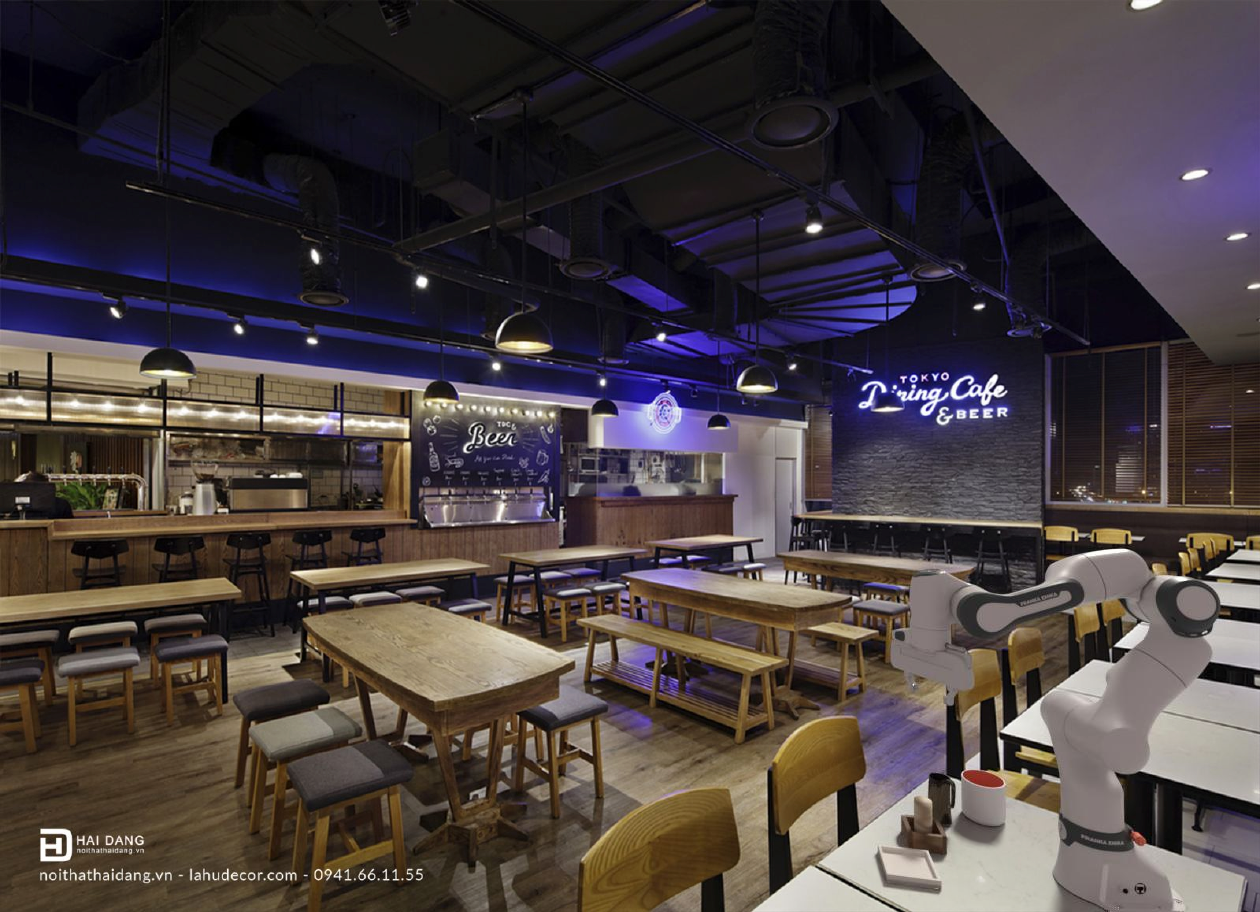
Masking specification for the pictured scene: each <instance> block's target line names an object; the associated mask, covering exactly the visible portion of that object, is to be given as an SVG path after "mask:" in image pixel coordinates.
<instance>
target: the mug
mask: <svg viewBox="0 0 1260 912" xmlns="http://www.w3.org/2000/svg"><path fill="white" fill-rule="evenodd" d="M927 786H928V787H927V789H928V790H927V798H929V799H930V800H931V801H932V817H933V818H934V819H938V820H939V822H940V824H941V826H942V828H949V827H951V826H952V825H953V819H952V816H953V815H952V810H954V808H955V805H956V794H957V792H956V791H957V786H956V784H955V781H953V779H952V778H951V777H950V776H949V775H947V774H944V773H941V772H930V773H929V774H928V785H927Z"/></svg>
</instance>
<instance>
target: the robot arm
mask: <svg viewBox="0 0 1260 912" xmlns="http://www.w3.org/2000/svg"><path fill="white" fill-rule="evenodd" d="M1044 575H1045V576H1044V582H1042V583H1040V584H1038V585H1035V586H1032V587H1028V588H1025V589H1020V590H1017V591H1014V592H1010V593H1004V594H1001V593H1000V594H999V593H994V592H989V591H988V590H985V589H984V588H982V587H980V586H978V585H975V584H972V583H969V582H967V581H964V580H962V579H959V578H958V577H956V576H954V575H952V574H950V573H949V572H948V571H947V570H945V569H942V568H927V569H921V570H918V571H916V572H915V573H914V574H913V575H912V577H911V580H910V588H909V609H910V612H911V614H910V615H911V616H910V620H909V626H908V627H904V628H898V629H893V630H892V631H891V638H892V641H891V642H890V653H889V654H890V664H891V665H892V667H893V668H896V669H898V670H901V671H903V676H904V678H905V680H906V682H907V684H908V686H907V687H908V688H907V689H908V691H910V692H913V693H917V692H919V683H916V680H915V677H914V676H915V675H916V676H918V677H921V678H924V679H927V680H929V681H933V682H936V683H939V684H940V685H941V684H942V685H944V686H946V690H947V691H948V693H947V695H943V697H942V699H943V700H942V703H943V705H947V706H953V705H954V704H955V697H956V695H957V694H958V693H959V691H961V692H966V691H969V690H972V689H973V688H974V687H975V674H974V667H973V657H972V656H973V655H972V654H971V653H970V652H969V651H968V650H967V649H966V648H965V647H963V646H957V645H956V644H955V645H954V644H952V625H953V624H956V625H957V624H959V625H961V626H962V627H963V629H964V630H965V631H966V632H968V633H969V634H970V635H971V636H973V637H975V638H977V639H980V640H994V639H998V638H1000V637H1002V636H1004V635H1005V634H1007V633H1008V632H1009V631H1011V630H1012V629H1014V628H1015V627H1016V626H1018V625H1021V624H1024V623H1026V622H1029V621H1033V620H1036V619H1040V618H1043V617H1047V616H1050V615H1054V614H1058V613H1062V612H1064V611H1067V610H1071V609H1075V608H1079V607H1084V606H1085V607H1086V606H1090V605H1096V604H1100V603H1104V602H1107V601H1109V602H1110V601H1112V600H1117V601H1119V603H1120V604H1121V607H1122V609H1124V611H1125V612H1126V613H1128V615H1130V616H1131V617H1132V618H1134V619H1136V620H1138V621H1139V622H1143V623H1146V624H1148V625H1149V626H1148V631H1147V632H1146V634H1145V636H1144V638H1143V639H1142V640H1141V641H1140V642H1138V643H1137V644H1135V646H1134V647H1132V649H1130V650H1128V652H1127V653H1126V654H1125V655H1124V656H1122V657H1121V658H1120V659H1119V660H1118V661H1117V662H1116V663H1115V664H1114V665H1112V666H1111V667H1110V668H1109V669H1108V670H1107V671H1106V673H1105V682H1106V686H1105V687H1106V688H1105V690H1104V692H1103V694H1102V695H1101V697H1100V699H1099V700H1098V701H1097V702H1094V701H1092V700H1091V699H1089V698H1087V696H1084V695H1082V694H1080V693H1076V692H1075V693H1074V692H1071V691H1067V690H1062V689H1061V690H1060V689H1059V690H1058V689H1057V690H1054V691H1051V692H1049V693H1048V694H1046V695H1045V696H1044V697H1043V699H1041V703H1040V706H1039V707H1040V708H1039V712H1040V713H1039V714H1040V716H1041V718H1042V720H1043V723H1044V724H1045V726H1046V729H1047V730H1048V734H1049V736H1050V741H1051V744H1052V748H1053V751H1054V752H1053V753H1054V755H1055V759H1056V763H1057V768H1058V772H1059V786H1060V808H1059V810H1058V821H1057V826H1058V827H1057V828H1058V836H1059V844H1058V845H1059V846H1058V852H1057V857H1056V860H1055V864H1054V867H1053V869H1052V874H1053V877H1054V879H1055V880H1056V881H1057V882H1058V883H1059V885H1060V886H1062V887H1063V888H1064V889H1065V890H1067V891H1068V892H1069V893H1071V894H1073V895H1076V896H1077V897H1079V898H1081V899H1083V900H1085V901H1088V902H1090V903H1092V904H1095V905H1096V906H1099V907H1100V908H1102V909H1103V908H1104V910H1106V911H1107V910H1108V911H1107V912H1109V911H1111V912H1180V911H1182V912H1184V911H1186V910H1187V905H1186V903H1185V901H1184V900H1183V898H1182V897H1181V896H1180V894H1179V893H1178V892H1177V891H1176V890H1175V889H1174V888H1173V887H1172V886H1171V884H1170V880H1169V878H1168V875H1167V873H1166V872H1165V870H1164V868H1163V867H1162V866H1161V865H1160V864H1159V862H1157V861H1156V860H1155V859H1154V858H1153V857H1152V856H1151V855H1150V854H1148V853H1147V852H1146V851H1144V850H1143V849H1142V848H1141V847H1144V846H1145V845H1146V843H1147V840H1146V839H1145V837H1144V836H1143V835H1141V834H1140V833H1139V832H1138V831H1134V829H1133V828H1132V826H1130V825H1129V824H1127V823H1126V822H1125V806H1124V803H1125V801H1124V797H1125V796H1124V795H1125V794H1124V789H1123V787H1122V784H1121V783H1120V780H1119V779H1118V777H1117V775H1116V773H1118V774H1120V775H1132V774H1133V775H1134V774H1136V773H1138V772H1140V771H1141V770H1143V769H1144V768H1145V767H1146V766H1147V764H1148V762H1149V760H1150V756H1151V747H1150V743H1149V736H1150V732H1151V730H1152V728H1153V726H1154V724H1155V722H1156V720H1157V718H1158V717H1159V715H1160V714H1161V713H1162V712H1163V711H1164V710H1165V709H1166V708H1167V707H1168V706H1169V705H1171V703H1173V701H1174V700H1176V699H1177V698H1178V697H1179V696H1180V695H1181V694H1182V693H1183V692H1184V691H1186V690H1187V689H1188V688H1189V687H1190V686H1191V685H1192V684H1193V683H1194V682H1195V681H1196V680H1197V678H1199V676H1200V675H1201V674H1202V673H1203V672H1204V670H1205V669H1206V667H1207V666H1208V665H1209V663H1210V661H1211V659H1212V658H1213V650H1212V649H1213V648H1212V646H1211V645H1210V643H1209V642H1208V640H1207V639H1206V638H1205V637H1206V636H1208V635H1209V634H1211V633H1212V631H1213V628H1214V624H1215V623H1216V621H1217V619H1218V618H1219V615H1220V612H1221V608H1222V607H1221V606H1222V604H1221V598H1220V596H1219V595H1218V593H1217V592H1216V590H1215V589H1214V588H1213V587H1212V586H1211V585H1209V584H1207V583H1206V582H1204V581H1202V580H1199V579H1196V578H1194V577H1191V576H1186V575H1185V576H1183V575H1180V576H1178V575H1177V576H1176V575H1167V574H1159V575H1158V574H1154V573H1153V572H1151V570H1150V569H1149V566H1148V564H1147V563H1146V561H1145V560H1144V558H1143V557H1142V556H1141V555H1139V554H1138V553H1137V552H1135V551H1133V550H1130V549H1126V548H1116V549H1115V548H1112V549H1111V548H1110V549H1102V550H1095V551H1090V552H1089V551H1088V552H1083V553H1078V554H1074V555H1071V556H1068V557H1064V558H1062V559H1059V560H1058V561H1055V562H1053V563H1051V564H1049V566H1048V567H1047V570H1046V572H1045V574H1044ZM1204 632H1205V633H1204ZM1176 902H1178V903H1181V904H1178V903H1176ZM1118 907H1119V908H1118Z"/></svg>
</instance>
